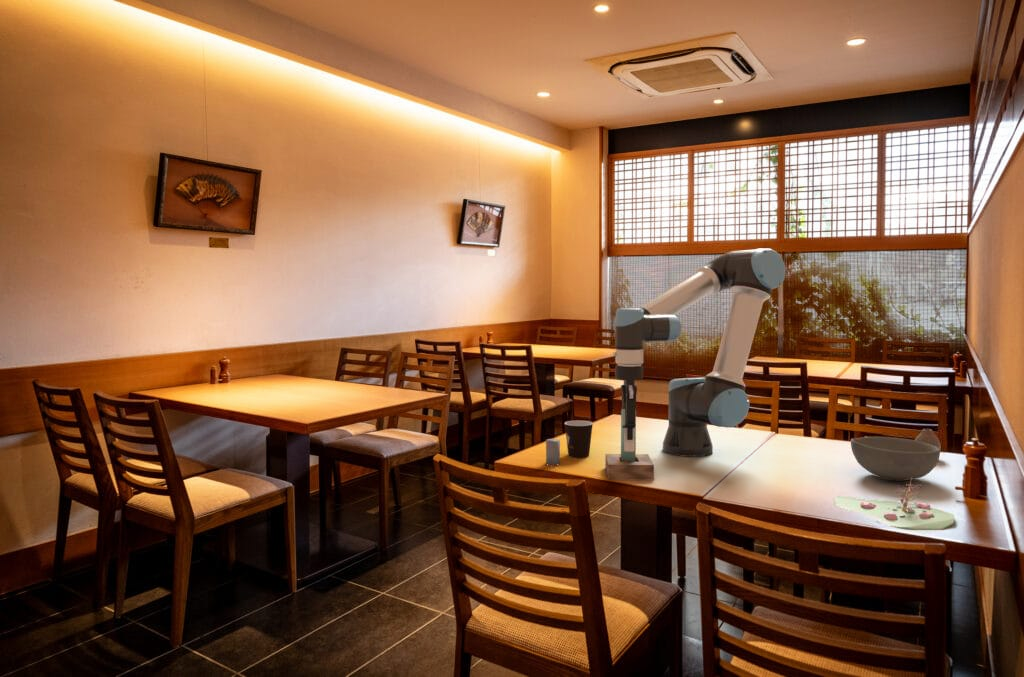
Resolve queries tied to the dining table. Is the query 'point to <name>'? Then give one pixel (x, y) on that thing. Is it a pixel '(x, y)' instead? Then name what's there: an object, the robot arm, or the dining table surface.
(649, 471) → the socket block
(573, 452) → the coffee mug
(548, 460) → the grey-blue block
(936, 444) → the vase
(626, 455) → the teal dowel
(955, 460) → the dining table surface
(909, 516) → the plant
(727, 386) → the robot arm
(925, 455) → the bowl
